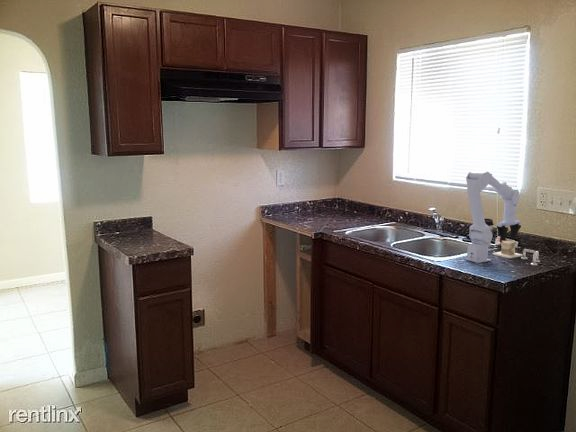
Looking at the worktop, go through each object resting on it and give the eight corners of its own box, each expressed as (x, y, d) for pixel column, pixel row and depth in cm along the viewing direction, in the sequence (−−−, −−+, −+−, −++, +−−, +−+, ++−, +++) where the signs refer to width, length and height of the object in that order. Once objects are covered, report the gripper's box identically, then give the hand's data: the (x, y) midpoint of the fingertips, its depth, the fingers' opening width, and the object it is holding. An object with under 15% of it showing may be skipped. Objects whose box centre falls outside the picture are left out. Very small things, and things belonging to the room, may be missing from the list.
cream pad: (508, 258, 253) (509, 256, 253) (492, 254, 262) (492, 252, 262) (522, 256, 258) (522, 254, 258) (505, 252, 267) (505, 250, 267)
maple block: (508, 255, 257) (509, 243, 256) (501, 253, 261) (501, 241, 260) (514, 254, 259) (515, 242, 258) (507, 252, 263) (507, 241, 262)
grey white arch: (534, 265, 239) (535, 255, 238) (511, 259, 250) (511, 249, 250) (547, 263, 243) (547, 252, 242) (523, 257, 255) (524, 247, 254)
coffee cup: (494, 245, 281) (495, 219, 279) (490, 248, 274) (491, 221, 272) (478, 244, 286) (479, 217, 284) (474, 247, 279) (475, 220, 277)
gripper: (506, 215, 250) (504, 242, 252) (526, 212, 256) (524, 239, 258) (494, 213, 256) (493, 239, 258) (514, 211, 262) (512, 236, 265)
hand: (508, 239), depth 259 cm, fingers open, 7 cm apart
